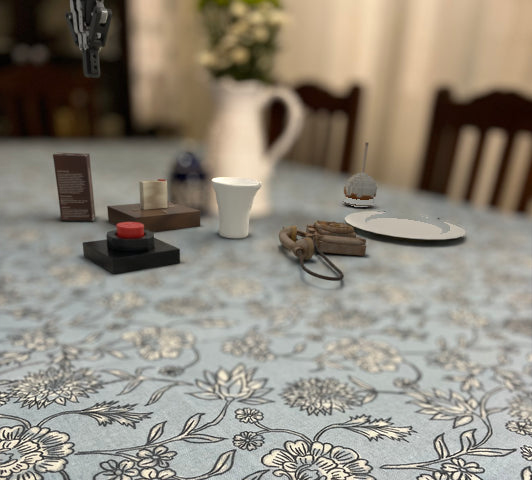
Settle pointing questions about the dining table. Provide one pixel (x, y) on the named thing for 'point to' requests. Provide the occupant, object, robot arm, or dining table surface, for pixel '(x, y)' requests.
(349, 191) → the grey candy apple
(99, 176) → the dining table surface
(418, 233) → the plate
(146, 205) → the cream slab
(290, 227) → the telephone
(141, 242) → the housing
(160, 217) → the panel
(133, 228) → the button
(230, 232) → the cup
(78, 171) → the box
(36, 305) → the dining table surface
